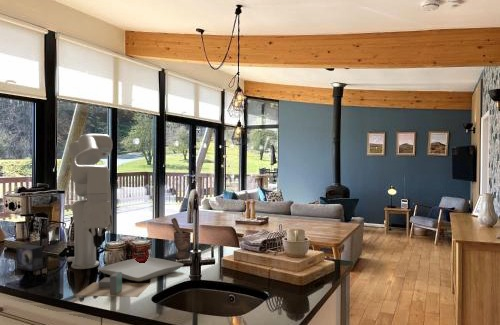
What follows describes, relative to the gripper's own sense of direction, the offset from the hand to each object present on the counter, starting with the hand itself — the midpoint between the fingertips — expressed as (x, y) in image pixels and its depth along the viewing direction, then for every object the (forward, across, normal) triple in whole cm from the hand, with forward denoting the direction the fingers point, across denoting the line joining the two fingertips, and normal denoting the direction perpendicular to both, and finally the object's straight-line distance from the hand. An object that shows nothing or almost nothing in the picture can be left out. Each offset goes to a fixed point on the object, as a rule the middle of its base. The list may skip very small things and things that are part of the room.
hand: (98, 245), depth 159 cm
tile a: (+16, -2, +8) cm, 18 cm away
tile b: (+18, +7, 0) cm, 19 cm away
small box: (+18, -47, +32) cm, 60 cm away
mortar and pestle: (+18, +18, +58) cm, 64 cm away
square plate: (+18, +8, +27) cm, 34 cm away
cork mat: (+18, +5, +4) cm, 19 cm away
